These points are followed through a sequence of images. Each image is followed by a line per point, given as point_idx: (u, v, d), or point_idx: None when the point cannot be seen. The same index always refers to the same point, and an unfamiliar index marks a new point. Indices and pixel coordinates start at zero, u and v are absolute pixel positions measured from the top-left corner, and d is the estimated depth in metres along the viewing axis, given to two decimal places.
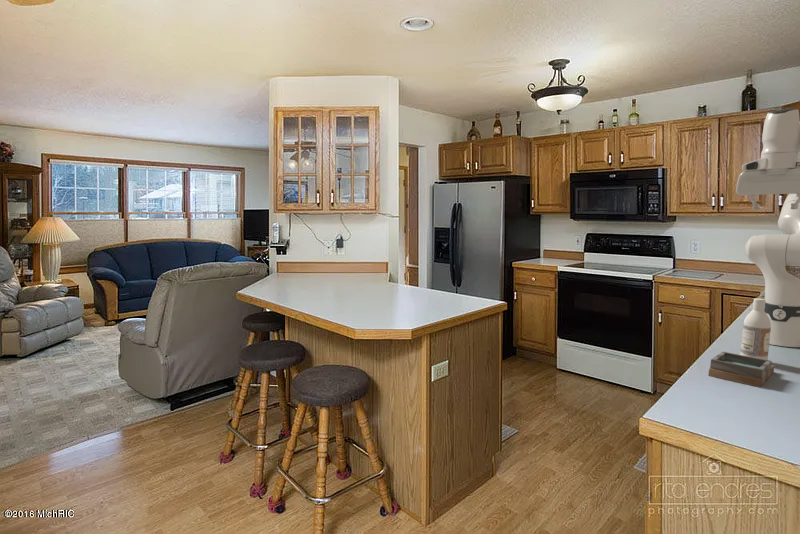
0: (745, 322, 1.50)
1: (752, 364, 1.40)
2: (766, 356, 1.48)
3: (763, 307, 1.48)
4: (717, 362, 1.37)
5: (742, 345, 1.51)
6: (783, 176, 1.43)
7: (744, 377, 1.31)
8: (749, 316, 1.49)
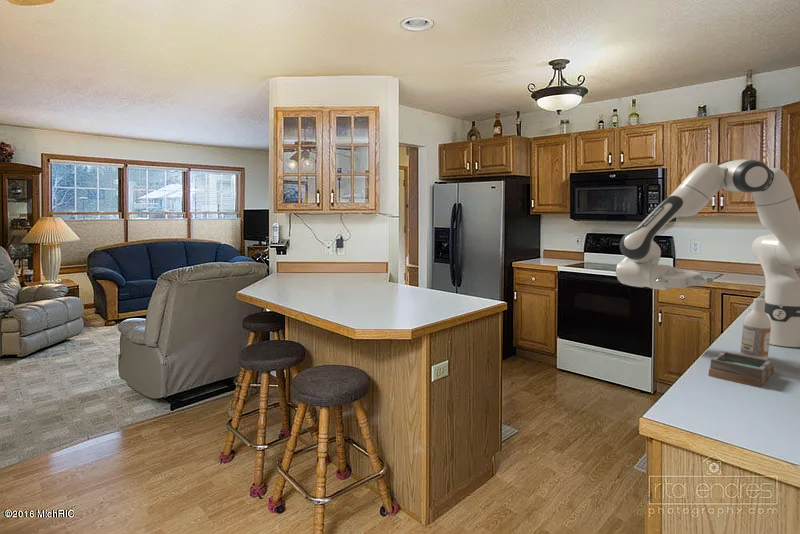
0: (745, 322, 1.50)
1: (752, 364, 1.40)
2: (766, 356, 1.48)
3: (763, 307, 1.48)
4: (717, 362, 1.37)
5: (742, 345, 1.51)
6: None
7: (744, 377, 1.31)
8: (749, 316, 1.49)
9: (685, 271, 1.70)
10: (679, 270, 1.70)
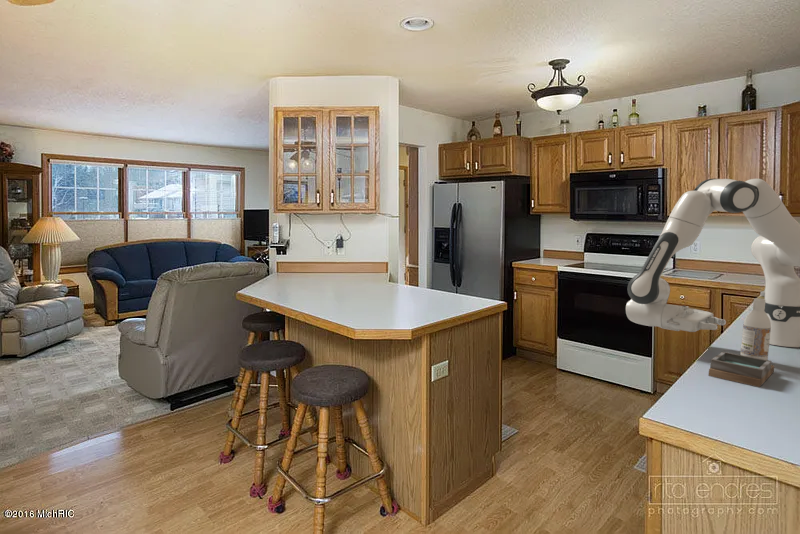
0: (745, 322, 1.50)
1: (752, 364, 1.40)
2: (766, 356, 1.48)
3: (763, 307, 1.48)
4: (717, 362, 1.37)
5: (742, 345, 1.51)
6: None
7: (744, 377, 1.31)
8: (749, 316, 1.49)
9: (696, 311, 1.69)
10: (690, 310, 1.69)
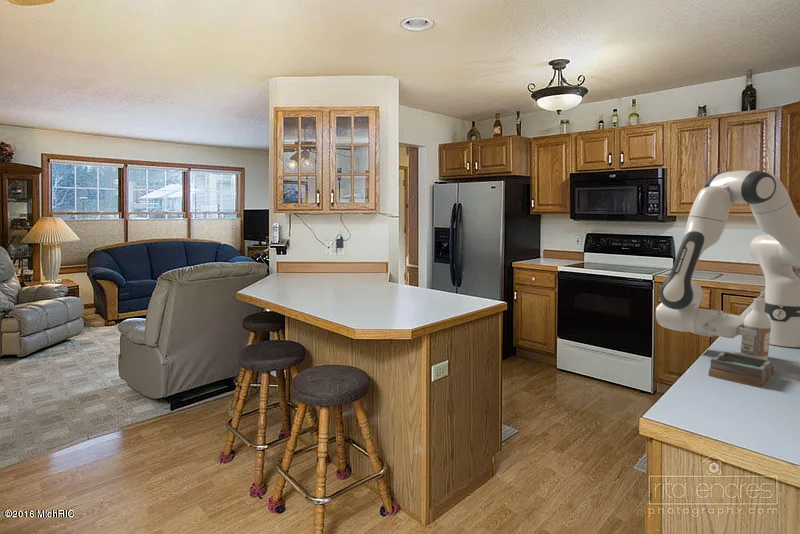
0: (745, 322, 1.50)
1: (752, 364, 1.40)
2: (766, 356, 1.48)
3: (763, 307, 1.48)
4: (717, 362, 1.37)
5: (742, 345, 1.51)
6: None
7: (744, 377, 1.31)
8: (749, 316, 1.49)
9: (731, 315, 1.61)
10: (725, 315, 1.61)
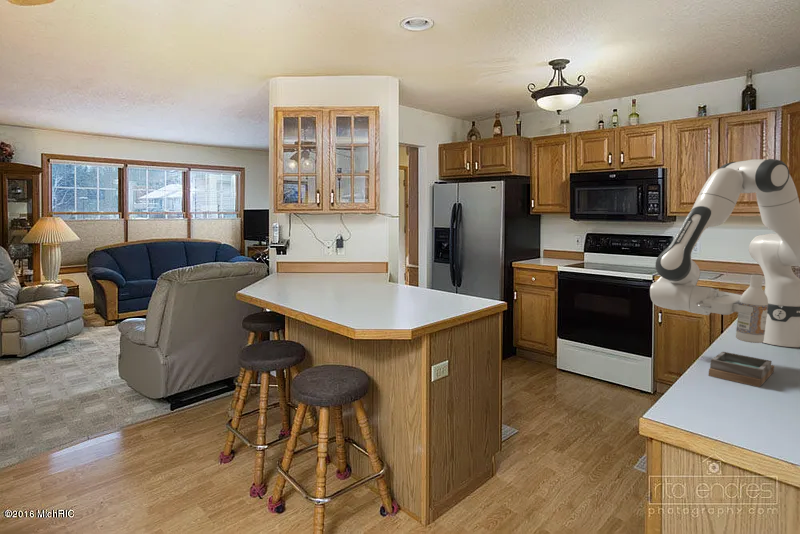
0: (741, 299, 1.45)
1: (752, 364, 1.40)
2: (762, 334, 1.42)
3: (760, 283, 1.42)
4: (717, 362, 1.37)
5: (738, 323, 1.46)
6: None
7: (744, 377, 1.31)
8: (746, 293, 1.44)
9: (727, 294, 1.56)
10: (721, 293, 1.55)
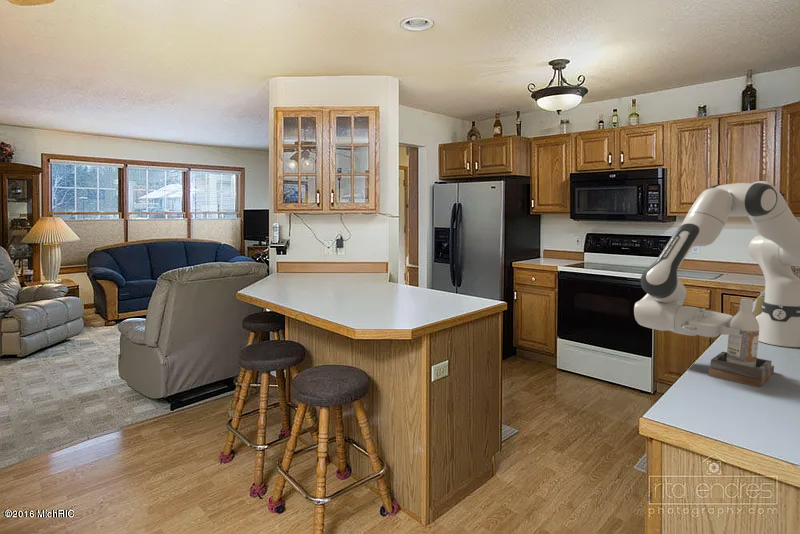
0: (731, 324, 1.37)
1: None
2: (754, 362, 1.35)
3: (751, 308, 1.35)
4: (717, 362, 1.37)
5: (728, 349, 1.38)
6: None
7: (744, 377, 1.31)
8: (735, 318, 1.36)
9: (714, 313, 1.48)
10: (707, 312, 1.48)
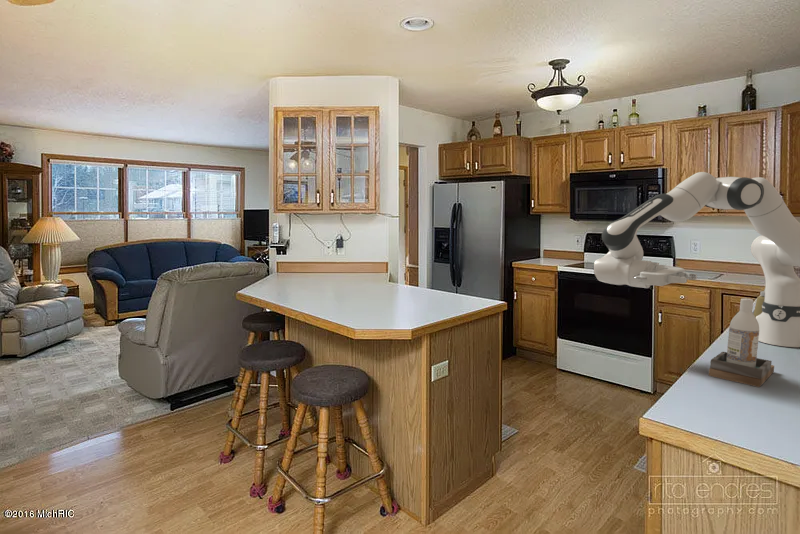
0: (731, 324, 1.37)
1: None
2: (754, 362, 1.35)
3: (751, 308, 1.35)
4: (717, 362, 1.37)
5: (728, 349, 1.38)
6: None
7: (744, 377, 1.31)
8: (735, 318, 1.36)
9: (667, 267, 1.57)
10: (660, 266, 1.57)
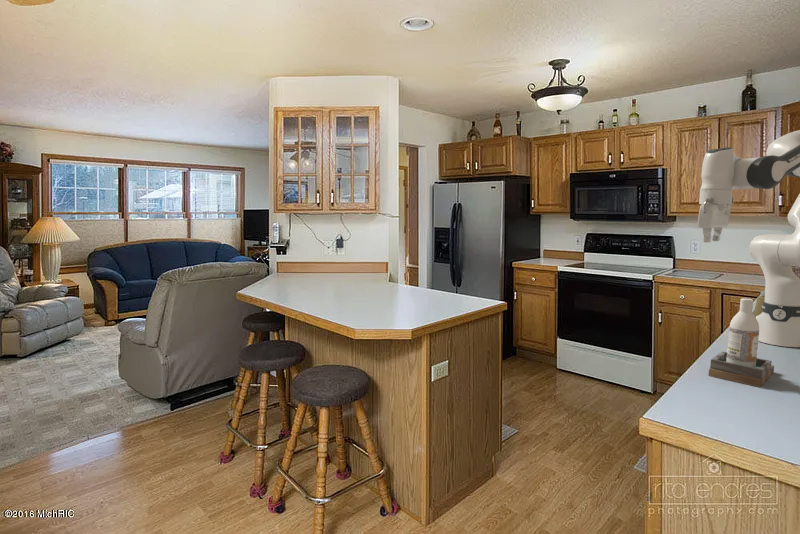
0: (731, 324, 1.37)
1: None
2: (754, 362, 1.35)
3: (751, 308, 1.35)
4: (717, 362, 1.37)
5: (728, 349, 1.38)
6: None
7: (744, 377, 1.31)
8: (735, 318, 1.36)
9: (727, 212, 1.59)
10: (727, 208, 1.57)
